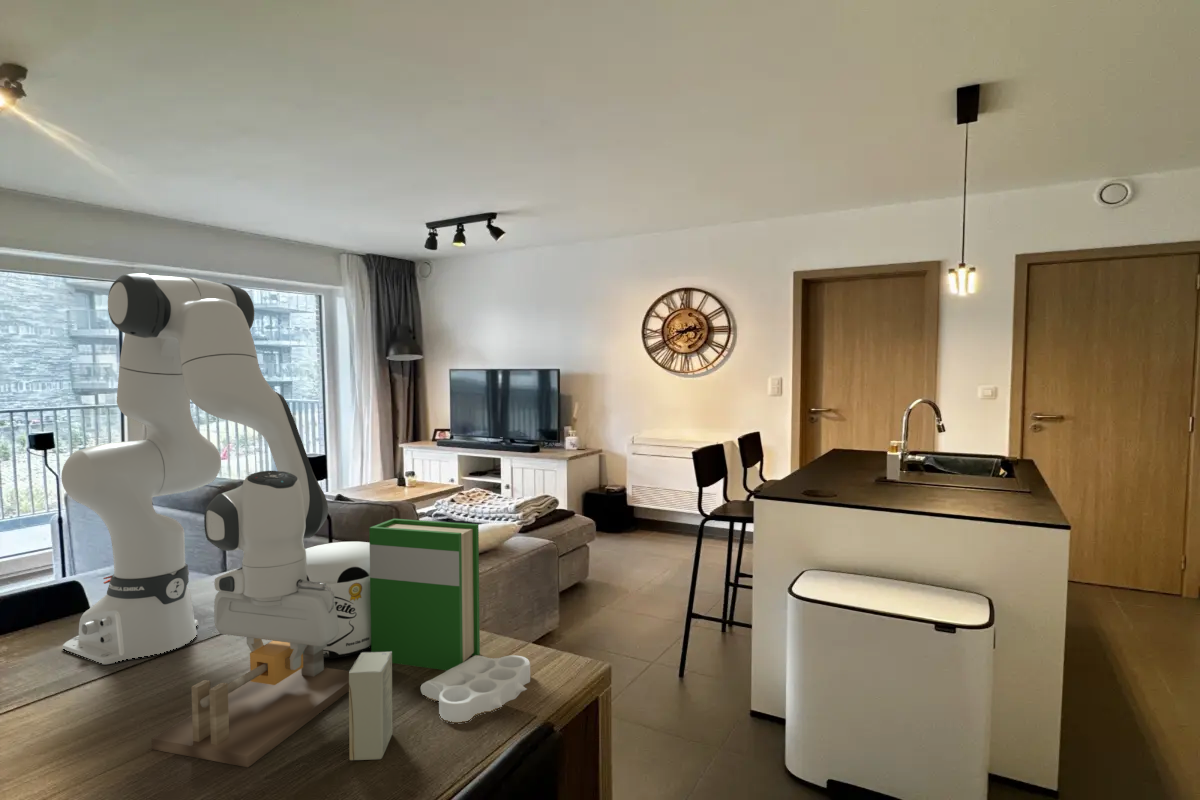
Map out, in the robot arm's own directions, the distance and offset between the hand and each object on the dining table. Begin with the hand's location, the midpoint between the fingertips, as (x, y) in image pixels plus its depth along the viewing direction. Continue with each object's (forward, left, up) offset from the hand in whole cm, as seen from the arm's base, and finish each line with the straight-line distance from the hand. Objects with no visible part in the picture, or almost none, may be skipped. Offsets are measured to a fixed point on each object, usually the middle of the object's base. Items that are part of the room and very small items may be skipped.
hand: (277, 665), depth 98 cm
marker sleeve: (0, 0, -1) cm, 1 cm away
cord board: (0, -2, -6) cm, 7 cm away
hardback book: (+14, +21, -6) cm, 26 cm away
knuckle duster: (+29, +11, -7) cm, 32 cm away
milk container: (-4, +21, -6) cm, 22 cm away
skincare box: (+21, -6, -6) cm, 23 cm away
